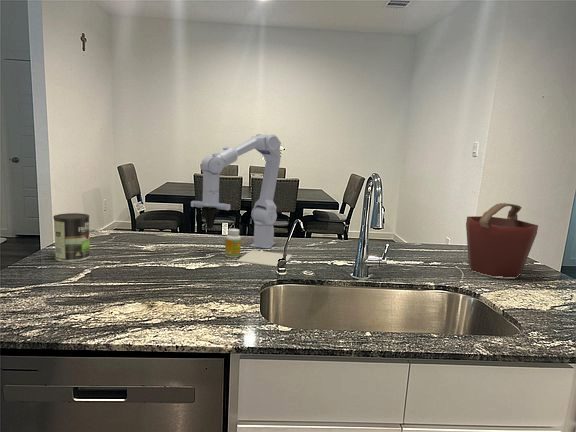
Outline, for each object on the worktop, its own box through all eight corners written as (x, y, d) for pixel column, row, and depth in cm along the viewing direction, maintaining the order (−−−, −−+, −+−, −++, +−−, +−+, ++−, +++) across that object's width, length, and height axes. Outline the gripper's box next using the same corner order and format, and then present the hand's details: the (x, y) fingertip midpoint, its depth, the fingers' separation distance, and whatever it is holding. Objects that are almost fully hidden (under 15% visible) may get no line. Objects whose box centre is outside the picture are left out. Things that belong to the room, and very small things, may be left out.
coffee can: (95, 254, 141) (95, 214, 139) (80, 263, 131) (79, 219, 129) (66, 252, 141) (64, 212, 139) (48, 261, 131) (46, 217, 129)
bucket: (494, 262, 163) (503, 199, 158) (548, 280, 143) (560, 208, 138) (446, 266, 153) (454, 199, 149) (496, 285, 133) (508, 209, 129)
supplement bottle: (232, 258, 146) (234, 231, 144) (221, 255, 149) (223, 229, 147) (242, 256, 150) (244, 230, 148) (232, 253, 153) (233, 227, 152)
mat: (251, 251, 158) (252, 250, 158) (292, 256, 154) (292, 255, 154) (236, 261, 143) (236, 260, 143) (281, 267, 139) (281, 266, 139)
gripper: (187, 190, 146) (186, 227, 148) (225, 193, 142) (224, 232, 144) (196, 188, 152) (195, 224, 155) (233, 191, 149) (231, 228, 151)
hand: (209, 228), depth 150 cm, fingers closed
